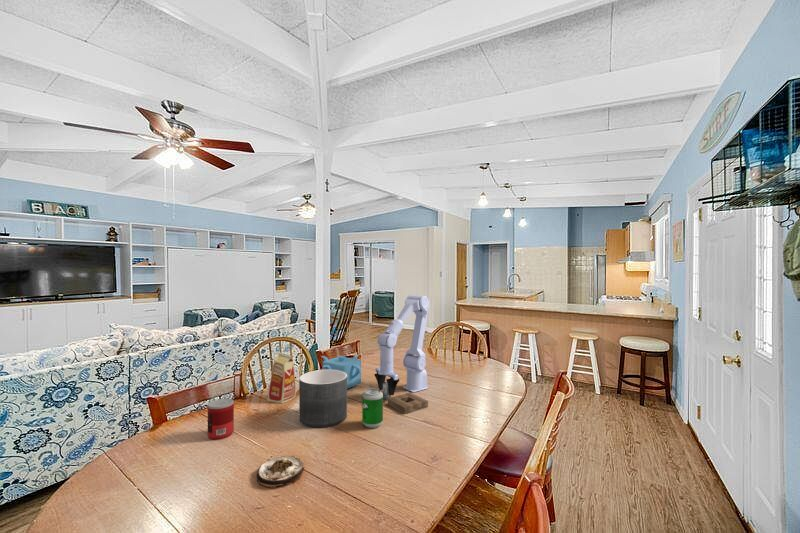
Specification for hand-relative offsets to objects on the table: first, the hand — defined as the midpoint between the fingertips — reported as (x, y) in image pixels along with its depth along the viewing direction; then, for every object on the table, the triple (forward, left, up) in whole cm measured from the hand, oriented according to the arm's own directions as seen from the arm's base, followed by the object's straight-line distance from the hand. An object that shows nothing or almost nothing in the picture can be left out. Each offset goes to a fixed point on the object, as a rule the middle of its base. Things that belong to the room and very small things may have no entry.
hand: (386, 392), depth 153 cm
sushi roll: (+55, +28, -4) cm, 62 cm away
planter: (+30, +1, -3) cm, 30 cm away
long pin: (0, 0, -3) cm, 3 cm away
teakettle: (+9, -26, -3) cm, 28 cm away
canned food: (+64, -7, -3) cm, 64 cm away
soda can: (+18, +17, -3) cm, 25 cm away
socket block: (-3, +11, -3) cm, 12 cm away
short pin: (+5, -5, -3) cm, 8 cm away
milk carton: (+36, -27, -3) cm, 45 cm away
